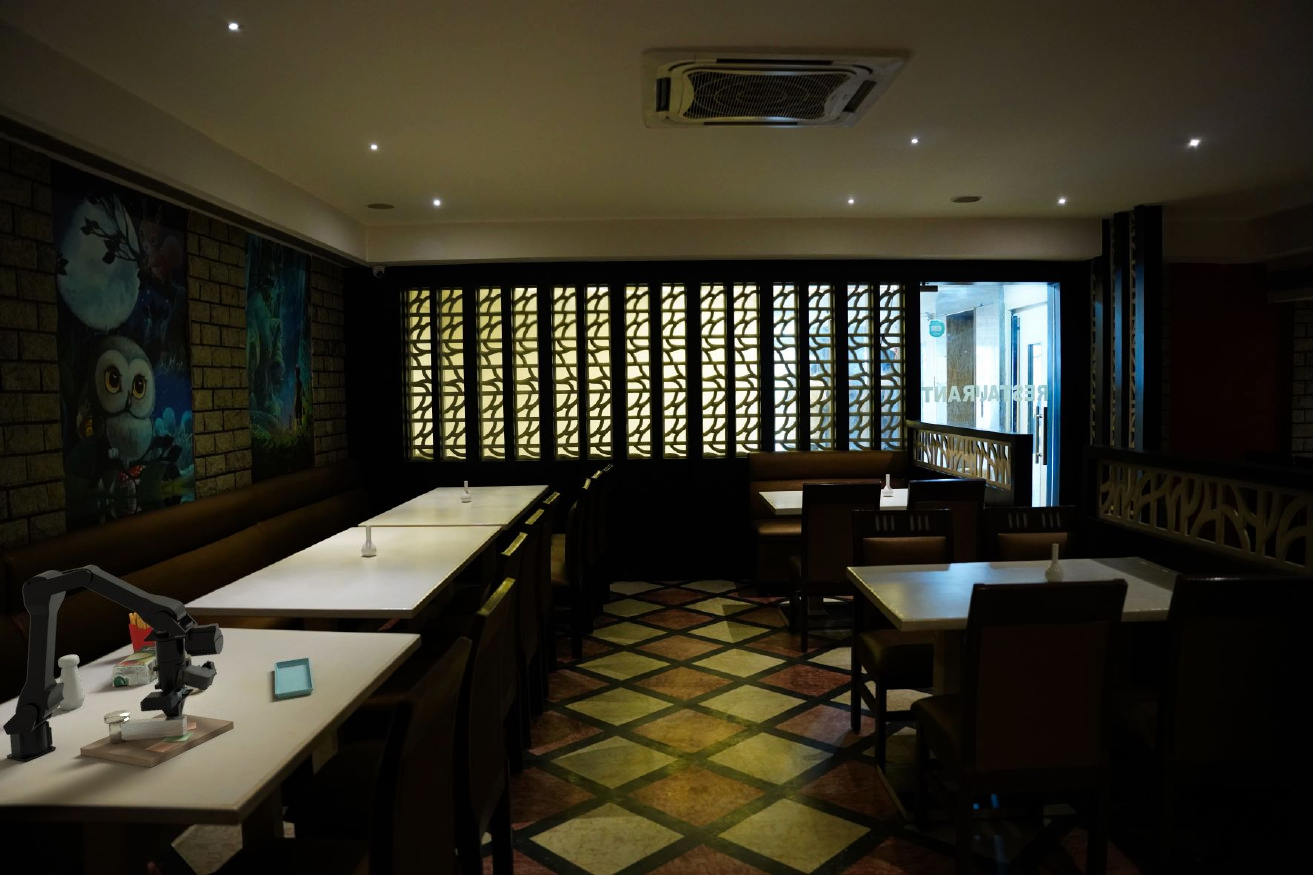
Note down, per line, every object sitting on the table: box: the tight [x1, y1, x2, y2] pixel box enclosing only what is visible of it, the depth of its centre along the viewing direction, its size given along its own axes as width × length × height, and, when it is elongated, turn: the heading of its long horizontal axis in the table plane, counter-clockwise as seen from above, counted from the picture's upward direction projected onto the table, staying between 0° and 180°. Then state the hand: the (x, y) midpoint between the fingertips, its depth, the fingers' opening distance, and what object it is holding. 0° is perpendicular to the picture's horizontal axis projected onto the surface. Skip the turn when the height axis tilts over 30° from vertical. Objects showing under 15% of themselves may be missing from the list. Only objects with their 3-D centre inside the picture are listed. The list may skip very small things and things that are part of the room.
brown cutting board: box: [79, 712, 235, 768], centre depth 187 cm, size 21×21×2 cm
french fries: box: [128, 612, 155, 653], centre depth 252 cm, size 9×4×13 cm, turn 105°
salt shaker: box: [57, 654, 86, 711], centre depth 209 cm, size 6×6×13 cm
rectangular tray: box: [274, 657, 315, 700], centre depth 224 cm, size 26×9×2 cm, turn 25°
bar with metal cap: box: [103, 709, 187, 743], centre depth 184 cm, size 16×5×6 cm, turn 97°
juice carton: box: [111, 645, 158, 687], centre depth 233 cm, size 20×10×6 cm, turn 9°
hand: (176, 725), depth 188 cm, fingers closed
